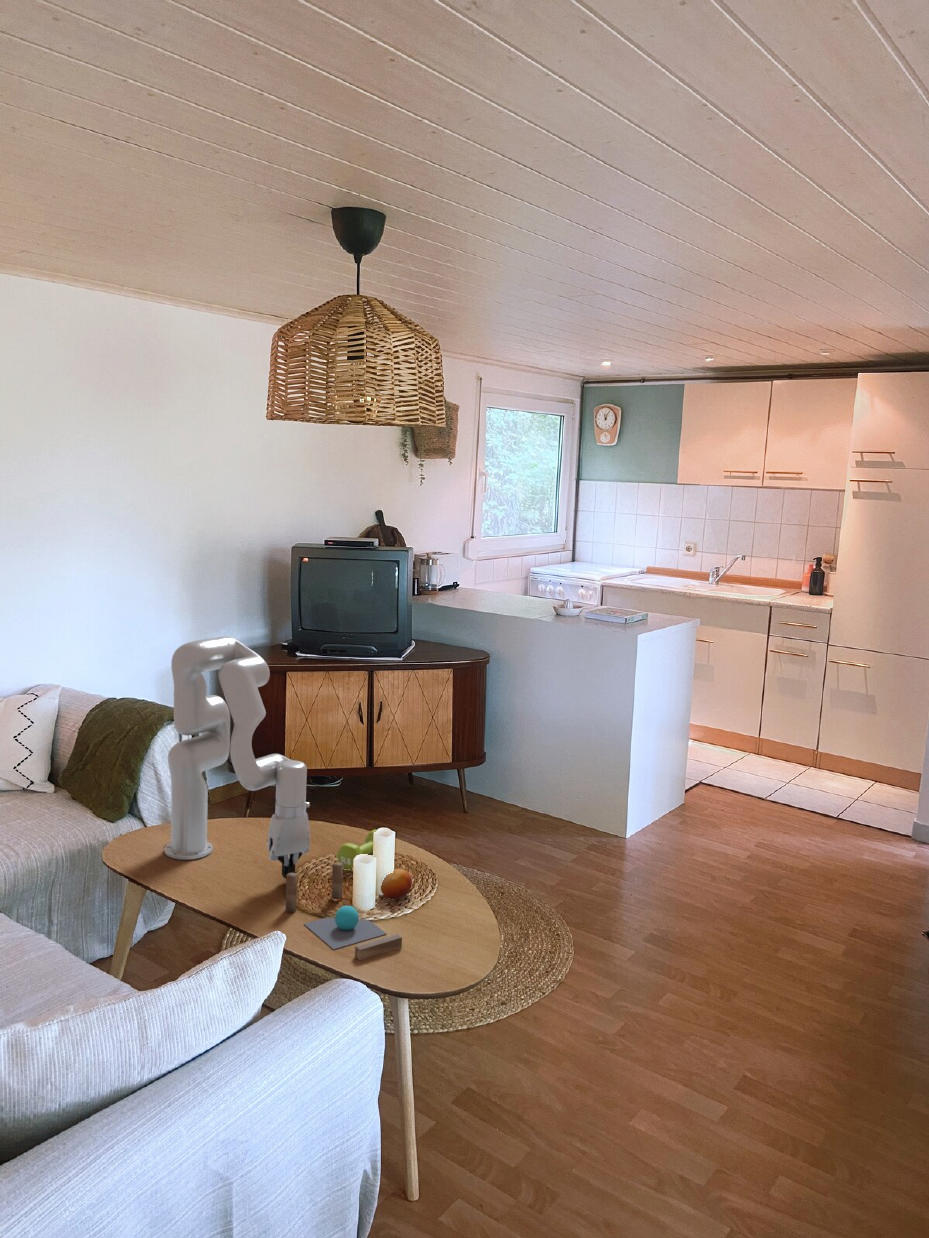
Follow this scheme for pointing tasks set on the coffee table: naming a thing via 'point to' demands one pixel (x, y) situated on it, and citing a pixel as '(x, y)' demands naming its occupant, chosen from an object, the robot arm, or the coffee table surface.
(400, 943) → the strip
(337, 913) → the ball
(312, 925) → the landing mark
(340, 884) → the post
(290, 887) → the post
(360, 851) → the dumbbell
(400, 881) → the fruit
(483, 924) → the coffee table surface
